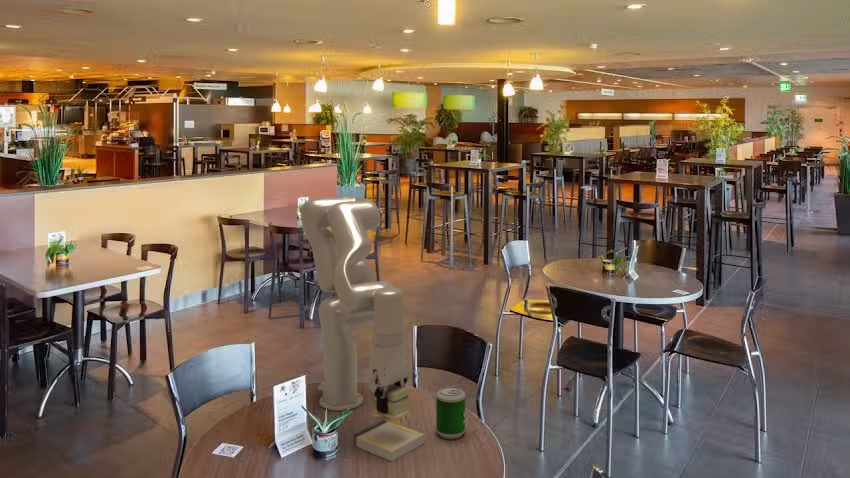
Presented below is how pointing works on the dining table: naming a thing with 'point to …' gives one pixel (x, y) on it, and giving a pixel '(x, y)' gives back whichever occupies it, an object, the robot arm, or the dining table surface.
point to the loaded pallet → (392, 419)
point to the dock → (388, 440)
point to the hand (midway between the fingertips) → (390, 407)
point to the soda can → (450, 412)
